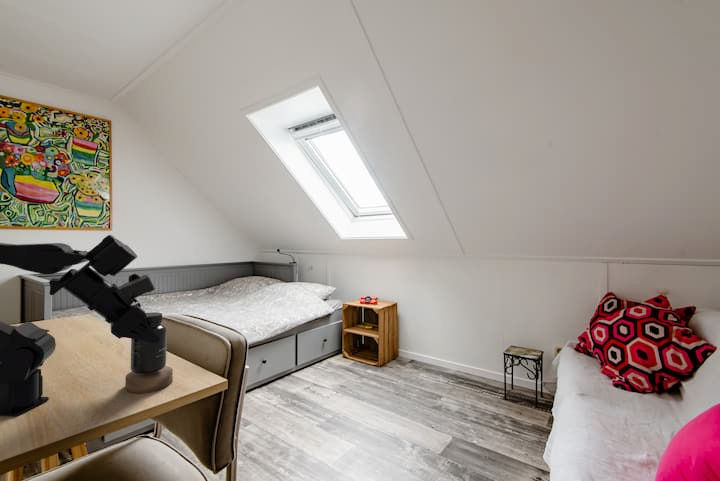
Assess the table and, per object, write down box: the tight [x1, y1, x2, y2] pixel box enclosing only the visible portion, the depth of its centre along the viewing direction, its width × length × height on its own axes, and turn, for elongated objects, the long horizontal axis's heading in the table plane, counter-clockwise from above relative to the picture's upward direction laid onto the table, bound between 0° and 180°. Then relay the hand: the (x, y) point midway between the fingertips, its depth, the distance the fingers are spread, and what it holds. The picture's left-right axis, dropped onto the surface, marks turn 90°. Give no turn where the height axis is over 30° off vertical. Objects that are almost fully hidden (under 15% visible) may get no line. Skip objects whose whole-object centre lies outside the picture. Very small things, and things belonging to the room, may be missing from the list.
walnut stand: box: [124, 365, 174, 394], centre depth 80 cm, size 9×9×2 cm
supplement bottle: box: [130, 311, 168, 373], centre depth 79 cm, size 7×7×12 cm
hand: (156, 337), depth 80 cm, fingers closed on supplement bottle, 7 cm apart
